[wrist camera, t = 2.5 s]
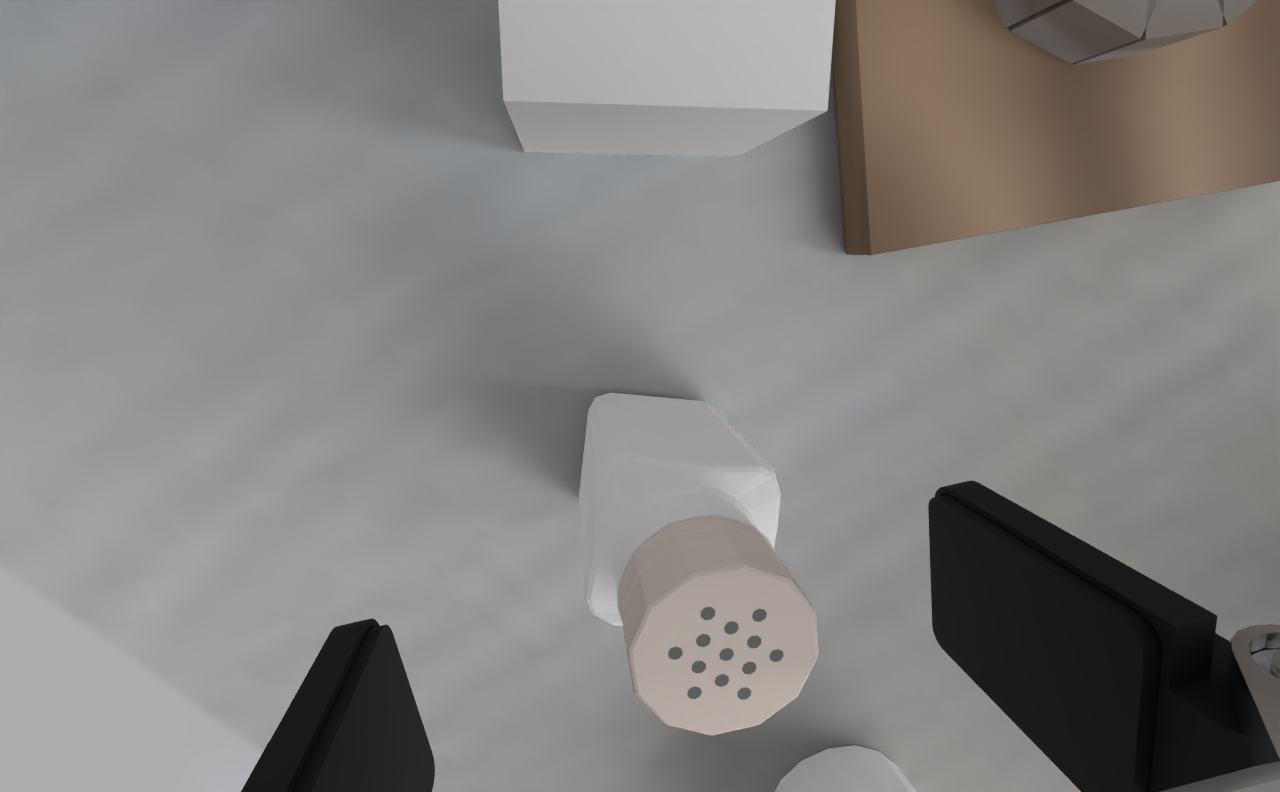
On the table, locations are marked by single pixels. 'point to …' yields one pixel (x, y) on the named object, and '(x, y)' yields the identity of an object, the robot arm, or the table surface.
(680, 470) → the salt shaker
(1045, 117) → the carrier board
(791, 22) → the white cube
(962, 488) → the robot arm
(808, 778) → the shot glass
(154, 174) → the table surface
